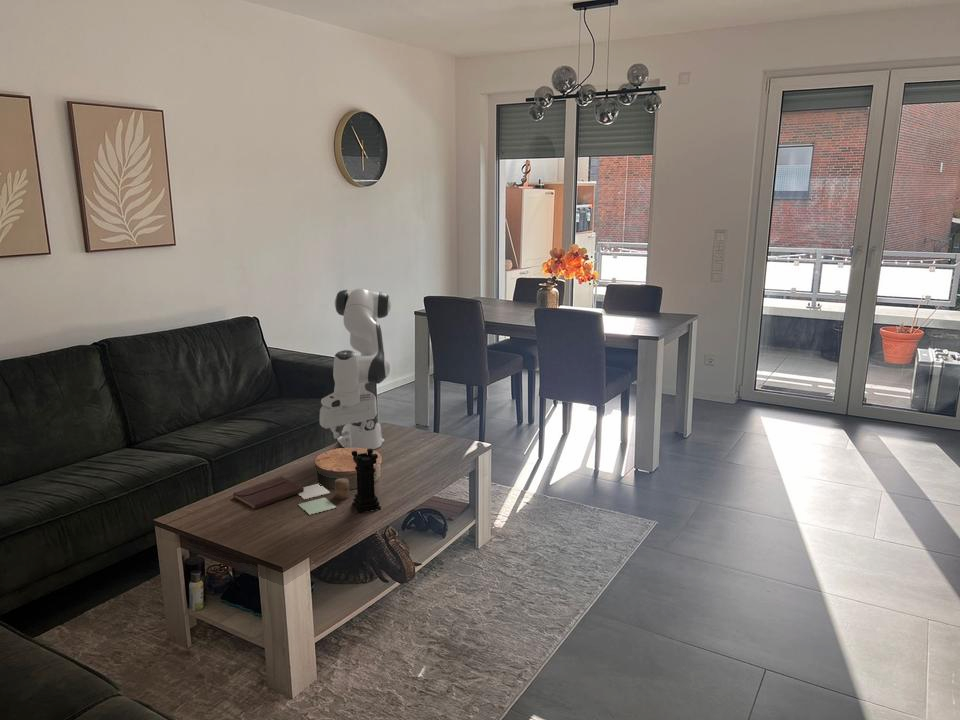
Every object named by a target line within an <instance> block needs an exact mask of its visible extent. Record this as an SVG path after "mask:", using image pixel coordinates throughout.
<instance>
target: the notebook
mask: <svg viewBox="0 0 960 720" xmlns="http://www.w3.org/2000/svg"><path fill="white" fill-rule="evenodd" d="M303 487H304V486H301V485H299V484H297V483H295V482H293V481H291V480H289V479H287V478H286V477H284V476H282V475H281V476H278V477H275V478H273V479H269V480H268V481H267V480H266V481H264V482H261V483H258V484H256V485H253V486H249V487H247V488H244V489H241V490H237V491H234V492H233V498H234V499H236V500H238V501H240V502H241V503H243V504H245V505H246V506H249V507H250V508H252V509H254V510H258V509H260V508H262V507H264V506H267V505H270V504H273V503H276V502H278V501H281V500H284V499H287V498H289V497H292V496H295V495H298V493H300V492H303V491H304V488H303Z"/></svg>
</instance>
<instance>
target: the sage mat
mask: <svg viewBox="0 0 960 720" xmlns="http://www.w3.org/2000/svg"><path fill="white" fill-rule="evenodd" d="M298 505H299V506H298ZM298 505H297V506H298V507H299V508H301V509H302V510H303V511H304V510H305V511H306V512H307V513H308V514H309V516H312V515H311V514H314V515H316V514H315V513H317V514H320V513H319V512H321V513H324V512H323V511H325V512H327V510H328V511H331V509H332V510H335V508H336V509H337V506H336V505H335V504H334V503H332V502H331V501H330V500H329V499H327V498H326V497H321V498H320V497H319V498H317V499H313V500H310V501H309V500H308V501H307V502H301V503H299V504H298ZM305 511H304V512H305ZM306 512H305V513H306ZM307 513H306V514H307ZM308 514H307V515H308Z"/></svg>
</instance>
